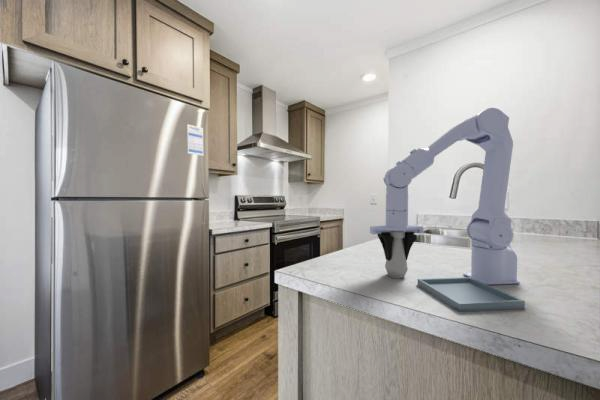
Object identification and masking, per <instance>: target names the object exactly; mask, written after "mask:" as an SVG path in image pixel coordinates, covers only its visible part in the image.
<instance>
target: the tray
mask: <svg viewBox="0 0 600 400" xmlns="http://www.w3.org/2000/svg"><path fill="white" fill-rule="evenodd" d="M417 286H419V287H420V288H421V289H423V290H424V291H426V292H428V293H430V294H431V295H432V296H434V297H436V298H437V299H439V300H440V301H442V302H443V303H445V304H446V305H448V306H449V307H451V308H452V309H454V310H456V311H458V312H459V313H461V312H478V311H479V312H480V311H498V310H500V311H501V310H515V309H516V310H519V309H525V308H526V307H525V304H526V303H525V302H526V301H525V300H523V299H521V298H519V297H517V296H514V295H512V294H510V293H507V292H505V291H502V290H500V289H498V288H496V287H493V286H491V285H490V284H489V285H488V284H484V283H482V282H479V281H477V280H475V279H472V278H470V277H468V276H466V277H465V276H464V277H463V276H462V277H438V278H436V277H435V278H417Z"/></svg>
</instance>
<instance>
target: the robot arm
mask: <svg viewBox="0 0 600 400" xmlns="http://www.w3.org/2000/svg"><path fill="white" fill-rule="evenodd" d="M509 121H510V117H509V116H508V115H507V114H506V113H504V112H503V111H502V110H501V109H499V108H497V107H489V108H486V109H484V110H482V111H481V112H480V113H478V114H476V115H474V116H471V117H470V118H467V119H465V120H464V121H462V122H460V123H458V124H457V125H455V126H453V127H451V128H450V129H448V130H447V131H446V132H445V133H443V134H442V135H441V136H440V137H439V138H438V139H436V140H435V141H434V142H432V143H431V144H430V145H429V146H427V147H426V148H425V147H424V148H423V147H419V148H417V149H416V148H414V149H412V150H410V151H409V155H408V156H406V157H405V158H404V159H402V160H401V161H399V160H398V161H397V162H395V166H394V167H392V168H389V169H388V170H387V171H386V172H385V174H384V177H383V182H384V184H385V186H386V194H385V224H384V225H373V226H371V225H370V226H369V233H370V234H372V235H377V237H378V240H379V241H380V243H381V246H382V249H383V253H384V257H385V260H386V259H387V260H388V261H390V260H391V258H392V243H393V239H394V237H392V236H391V235H390V232H391V231H404V232H405V238H403V244H404V250H405V257H406V261H408V258H409V253H410V251H411V249H412V246H413V245H414V243H415V242H416V240H417V237H418V235H417V234H424V226H422V225H409V185H410V184H412V181H413V179H416V178H417V177H418V176H419V175H420V174H422V173H423V172H425V171H426V170H427V169H428V168H430V167H432V165H434V162H435V158H436V157H437V156H438V155H440V154H441V153H442V152H444V151H445V150H447V149H448V148H449V147H451V146H453V145H454V144H455V143H457V142H461V141H464V140H465V141H466V142H469V143H471V144H474V145H476V146H478V147H480V148H481V149H482V150H483V151H485V155H484V164H483V171H482V179H481V185H480V194H479V200H478V208H477V209H476V211H474V212H473V214H472V215H471V220H470V221H469V223H468V225H467V227H466V235H467V236H468V238H469V239H470V241H471V255H470V256H471V258H470V259H471V262H470V263H471V264H470V265H471V266H470V272H463V273H462V274H463V275H464V277H465V276H466V277H470V278H472V279H475V280H477V281H479V282H482V283H484V284H486V285H489V286H490V285H507V284H510V285H512V284H520V282H521V281H520V280H518V279H517V278H518V257H517V253H516V252H515V251H514V249H513V248H511V247H509V246H510V245H511V243H512V242H513V240H514V231H513V228H512V219H511V217H510V216H509V215H508V214H507V213H506V212H505V207H506V201H507V191H508V184H509V178H510V170H511V162H512V157H513V147H514V141H513V138H512V136H511V131H510V129H509V123H510V122H509Z"/></svg>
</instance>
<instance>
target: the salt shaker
mask: <svg viewBox="0 0 600 400" xmlns="http://www.w3.org/2000/svg"><path fill="white" fill-rule="evenodd" d="M390 235H391V236H392V237H394V239H393V243H392V258H391V260H390V261H388V260H387V259H386V258H385V265H384V268H385V272H386V273H387V275H388V277H390V278H393V279H402V278H404V277H406V275H407V272H408V267H409V266H408V264H407V263H408V262H407V261H408V260H406V257H405V250H404V244H403V238H405V232H404V231H391V232H390Z"/></svg>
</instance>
